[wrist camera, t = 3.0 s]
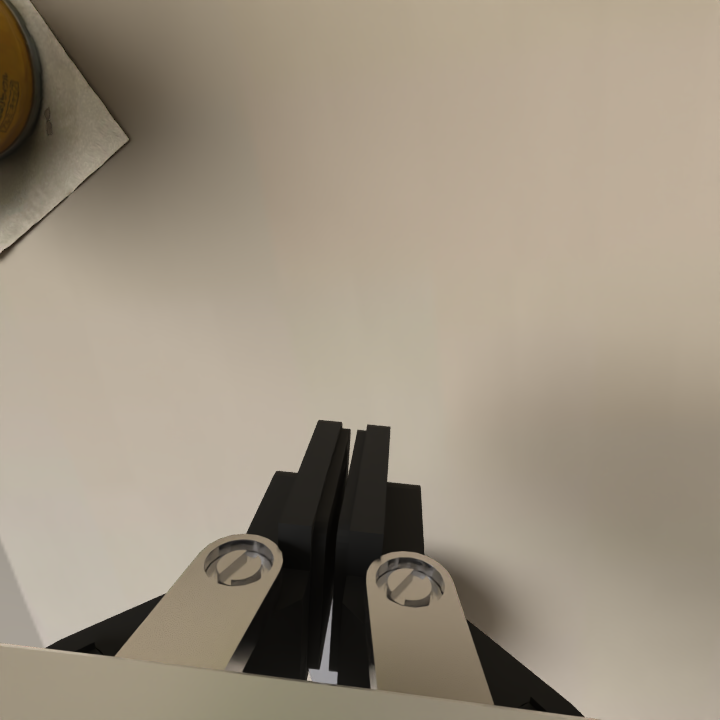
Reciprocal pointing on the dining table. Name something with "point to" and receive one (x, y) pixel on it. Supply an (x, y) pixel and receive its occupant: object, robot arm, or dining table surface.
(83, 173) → the condiment
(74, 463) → the dining table surface
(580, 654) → the dining table surface
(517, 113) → the dining table surface
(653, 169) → the dining table surface
